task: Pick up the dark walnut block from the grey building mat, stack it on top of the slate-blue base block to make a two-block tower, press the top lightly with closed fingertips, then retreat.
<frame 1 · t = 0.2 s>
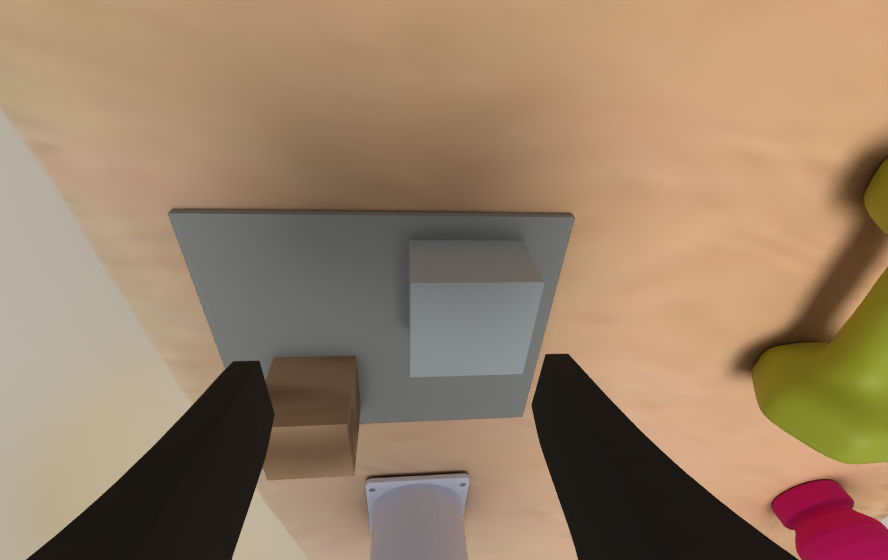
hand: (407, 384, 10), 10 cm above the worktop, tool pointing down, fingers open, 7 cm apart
pepper mill: (802, 494, 40), on the worktop
building mat: (386, 333, 23), on the worktop
dumbbell: (832, 276, 24), on the worktop
base block: (462, 287, 21), resting on building mat
walnut block: (320, 383, 24), resting on building mat
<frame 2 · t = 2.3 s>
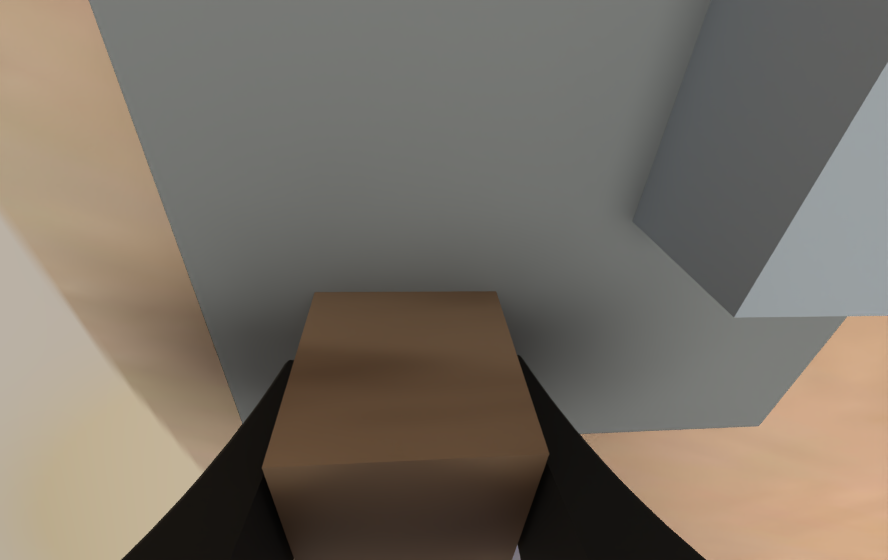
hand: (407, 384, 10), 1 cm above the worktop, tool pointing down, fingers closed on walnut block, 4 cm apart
building mat: (568, 241, 10), on the worktop
base block: (804, 100, 8), resting on building mat
walnut block: (407, 356, 11), resting on building mat, touching gripper
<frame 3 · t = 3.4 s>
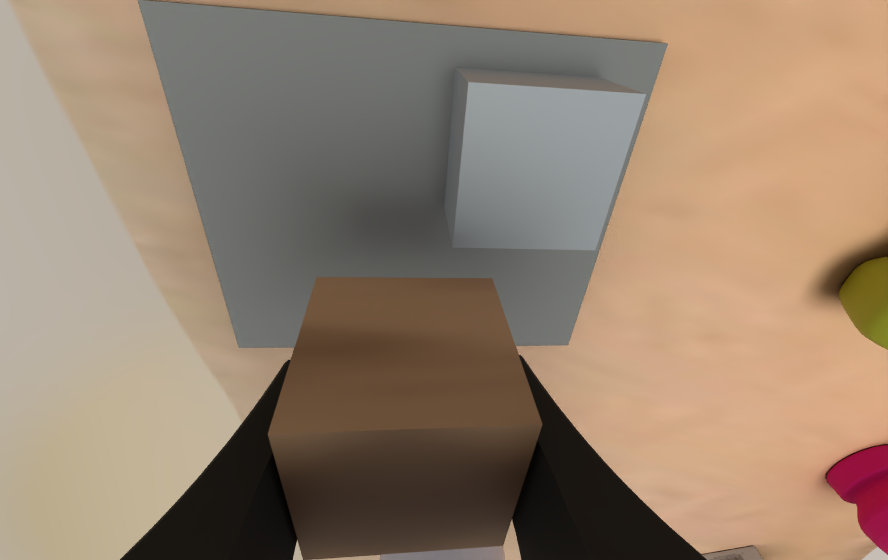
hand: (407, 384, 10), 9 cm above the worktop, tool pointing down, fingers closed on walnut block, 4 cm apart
pepper mill: (860, 463, 35), on the worktop
building mat: (414, 218, 18), on the worktop
base block: (516, 147, 16), resting on building mat
walnut block: (405, 342, 12), point 8 cm above the worktop, touching gripper
when the fingers open (6 cm above the worktop, at t = 4.8 s): walnut block stays where it is, resting on base block.
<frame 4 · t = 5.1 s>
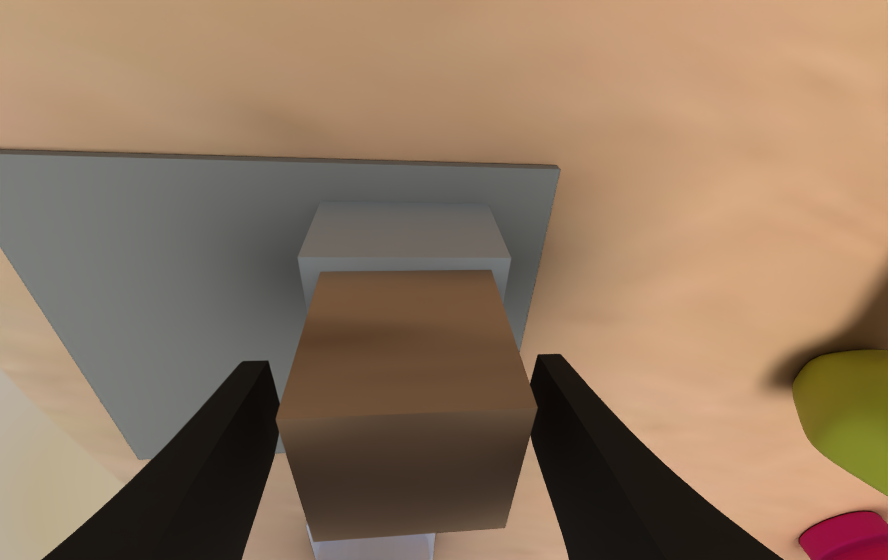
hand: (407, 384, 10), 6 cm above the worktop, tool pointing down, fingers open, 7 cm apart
pepper mill: (835, 526, 34), on the worktop
building mat: (308, 337, 17), on the worktop
base block: (405, 272, 15), resting on building mat, touching walnut block
walnut block: (408, 334, 12), point 4 cm above the worktop, touching base block
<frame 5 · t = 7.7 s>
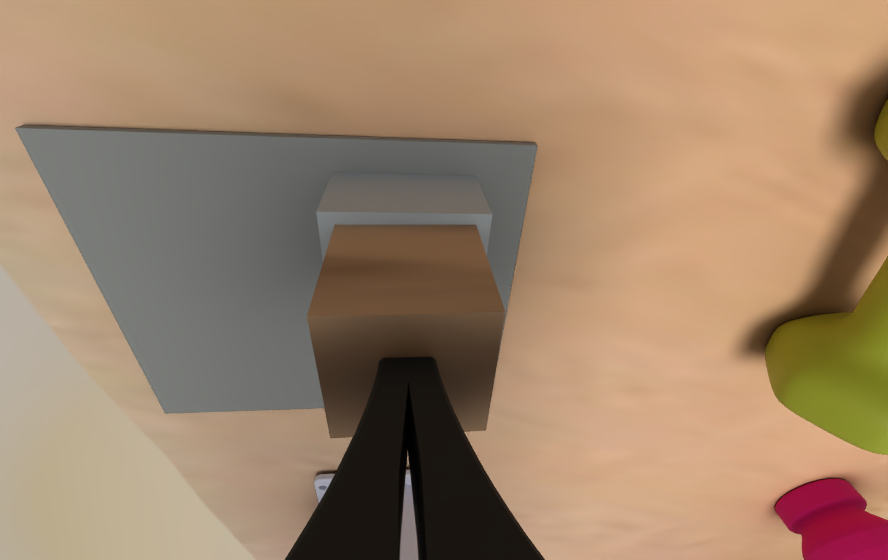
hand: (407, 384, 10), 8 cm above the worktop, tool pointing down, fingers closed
pepper mill: (808, 494, 36), on the worktop
building mat: (319, 298, 19), on the worktop
dumbbell: (848, 233, 20), on the worktop
base block: (405, 237, 17), resting on building mat, touching walnut block
walnut block: (407, 282, 14), point 4 cm above the worktop, touching base block
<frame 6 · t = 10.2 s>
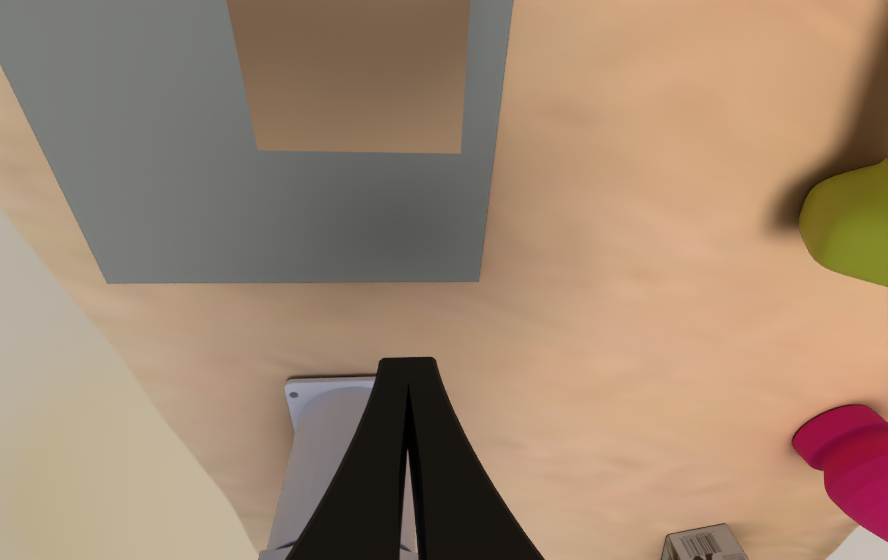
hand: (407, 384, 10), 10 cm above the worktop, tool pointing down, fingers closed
pepper mill: (828, 427, 33), on the worktop
building mat: (278, 123, 16), on the worktop
dumbbell: (883, 60, 18), on the worktop
walnut block: (368, 28, 12), point 4 cm above the worktop, touching base block
coffee box: (689, 545, 44), on the worktop
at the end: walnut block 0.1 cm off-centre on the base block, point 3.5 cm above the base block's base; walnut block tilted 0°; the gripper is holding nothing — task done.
